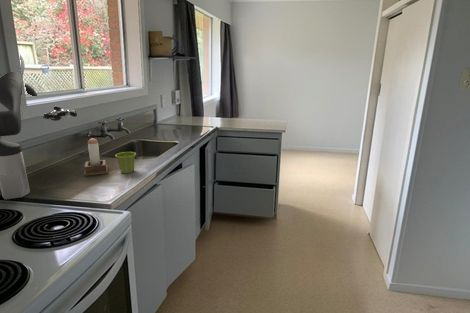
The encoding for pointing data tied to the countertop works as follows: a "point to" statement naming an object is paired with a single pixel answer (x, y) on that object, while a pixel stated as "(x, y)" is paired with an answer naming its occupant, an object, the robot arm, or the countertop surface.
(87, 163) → the box
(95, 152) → the capped white tube
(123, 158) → the plant pot
